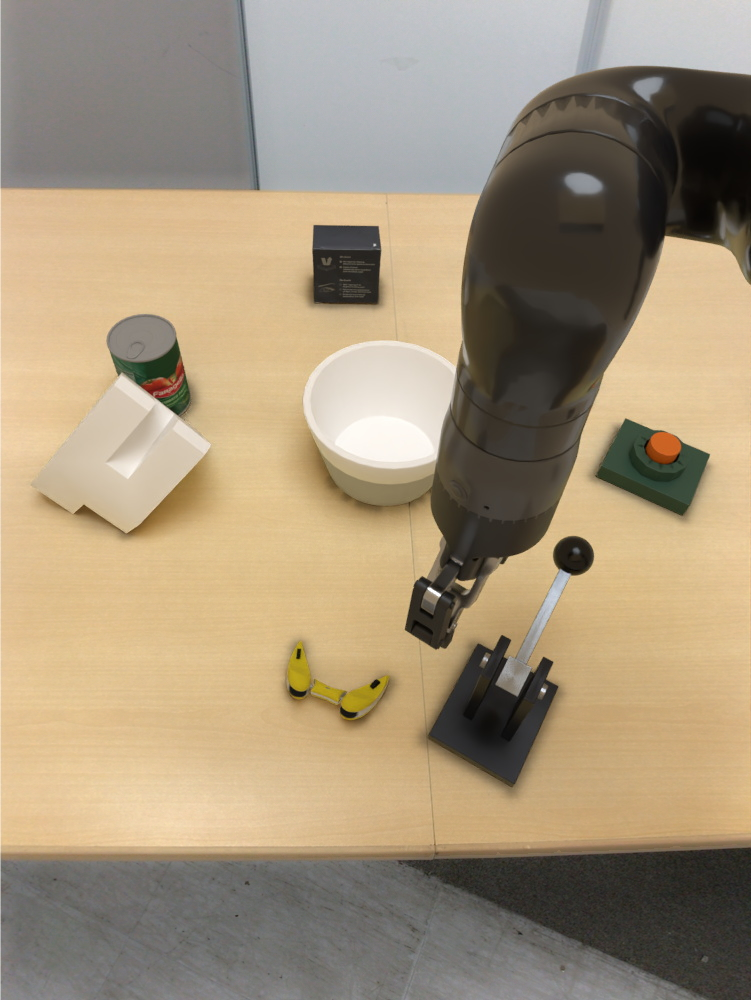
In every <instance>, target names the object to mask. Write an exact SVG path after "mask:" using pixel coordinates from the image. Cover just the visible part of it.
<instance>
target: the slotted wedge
mask: <svg viewBox="0 0 751 1000" xmlns="http://www.w3.org/2000/svg"><path fill="white" fill-rule="evenodd" d="M211 446H212V444H211V443H210V441H208V440H207V438H206V437H205V436H204V435H203V434H202V433H201V432H200V431H198V430H197V429H196V428H194V427H193V426H192V425H191V424H189V423H188V422H187V421H186V420H184V419H183V418H182V417H181V416H180V417H179V416H178V415H176V414H175V413H174V412H172V411H171V410H170V409H169V408H167V407H166V406H165V405H163V404H162V403H161V402H160V401H158V400H157V399H156V398H154V397H153V396H152V395H151V394H149V393H148V392H147V391H145V390H144V389H143V388H142V387H140V386H139V385H138V384H136V383H135V382H134V381H133V380H131V379H130V378H129V377H127V376H126V375H125V374H123V373H121V374H120V375H119V377H118V376H117V378H116V379H114V381H113V382H112V383H111V385H110V386H109V387H108V388H107V389H106V390H105V391H104V393H103V394H102V395H101V396H100V397H99V398H98V399H97V401H96V402H95V403H94V405H92V407H91V408H90V409H89V411H88V412H87V413H86V415H85V416H84V417H83V418H82V420H81V421H80V422H79V423H78V425H77V426H76V427H75V428H74V429H73V430H72V432H71V433H70V434H69V435H68V437H67V438H65V440H64V442H63V443H62V444H61V445H60V447H59V448H58V449H57V450H56V452H55V453H54V454H53V455H52V457H50V459H49V460H48V461H47V463H46V464H45V465H44V466H43V468H42V469H41V470H40V471H39V473H38V474H37V475H36V476H35V477H34V479H33V480H32V481H31V482H30V484H29V486H30V487H32V488H33V489H35V490H36V491H38V492H39V493H41V494H42V495H44V496H45V497H47V498H48V499H50V500H51V501H53V502H54V503H56V504H57V505H59V506H60V507H61V508H63V509H65V510H66V511H68V512H69V513H70V514H72V515H74V514H75V513H76V512H78V510H79V509H80V508H81V507H83V506H86V507H87V508H88V509H89V510H91V511H92V512H94V513H95V514H97V515H98V516H99V517H101V518H103V519H104V520H105V521H107V522H108V523H110V524H111V525H113V526H114V527H116V528H117V529H119V530H121V531H122V532H123V533H125V534H128V533H129V532H131V531H133V530H134V529H136V528H137V527H138V526H140V525H141V524H142V523H143V522H144V521H145V520H146V518H147V517H149V515H150V514H151V513H152V512H153V511H154V510H155V509H156V508H157V507H158V506H159V505H160V503H162V501H163V500H165V498H166V497H167V496H168V495H169V494H170V493H171V492H172V491H173V490H174V489H175V487H176V486H178V484H179V483H180V482H181V481H182V480H183V479H184V478H185V477H186V476H187V475H188V473H190V471H192V469H194V467H196V465H197V464H198V463H199V462H200V461H201V460H202V459H203V458H204V457H205V456H206V454H207V453H208V451H209V450H210V448H211Z"/></svg>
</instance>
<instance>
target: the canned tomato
mask: <svg viewBox="0 0 751 1000" xmlns="http://www.w3.org/2000/svg"><path fill="white" fill-rule="evenodd" d="M105 343H106V346H107V348H108V350H109V351H108V352H109V354H110V358H111V360H112V363H113V364H114V365H113V366H114V368H115V372H116V374H117V378H118V377H119V375H120V374H121V373H123V374H125V375H126V376H127V377H129V378H130V379H131V380H133V381H134V382H135V383H136V384H138V385H139V386H140V387H142V388H143V389H144V390H145V391H147V392H148V393H149V394H151V395H152V396H153V397H154V398H156V399H157V400H158V401H160V402H161V403H162V404H163V405H165V406H166V407H167V408H169V409H170V410H171V411H172V412H174V413H175V414H176V415H178V416H179V417H180V418H181V416H182V415H184V413H186V411H187V410H188V409H189V407H190V405H191V402H192V393H191V391H190V386H189V383H188V378H187V375H186V370H185V365H184V362H183V356H182V353H181V349H180V344H179V340H178V337H177V330H176V328H175V326H174V325H173V323H171V321H170V320H169V319H167V318H165V317H164V316H160V315H158V314H153V313H138V314H133V315H130V316H127V317H124V318H123V319H121V320H119V321H117V322H116V323H115V324H113V326H111V328H110V329H109V330H108V332H107V335H106V341H105Z"/></svg>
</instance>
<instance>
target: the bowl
mask: <svg viewBox="0 0 751 1000" xmlns="http://www.w3.org/2000/svg"><path fill="white" fill-rule="evenodd" d="M456 367H457V366H456V365H454V364H453V363H452V362H450V361H449V360H448V359H446V358H445V357H444V356H442V355H440V354H438V353H437V352H435V351H433V350H431V349H429V348H426V347H423V346H422V345H418V344H415V343H410V342H406V341H400V340H387V339H382V340H369V341H363V342H359V343H354V344H351V345H348V346H346V347H344V348H340V349H339V350H337V351H335V352H334V353H331V354H330V355H328V356H327V357H326V358H324V359H323V361H321V362H320V363H319V364H317V366H316V367H315V369H314V370H313V371H312V372H311V374H310V375H309V376H308V378H307V381H306V384H305V385H304V388H303V393H302V401H301V402H302V403H301V404H302V412H303V416H304V419H305V421H306V424H307V427H308V429H309V431H310V434H311V435H312V438H313V440H314V443H315V445H316V447H317V448H318V451H319V453H320V455H321V458H322V460H323V462H324V464H325V466H326V469H327V471H328V473H329V476H330V478H331V480H332V481H333V483H334V484H335V485H336V487H338V489H340V490H341V491H342V492H343V493H345V494H346V495H348V497H351V498H352V499H353V500H357V501H359V502H361V503H364V504H368V505H372V506H378V507H379V506H380V507H393V506H400V505H403V504H404V505H405V504H408V503H411V502H412V501H415V500H417V499H419V498H421V497H423V496H424V494H426V493H427V492H428V491H429V490H430V489H432V485H433V478H434V472H435V466H436V459H437V454H438V447H439V441H440V434H441V429H442V425H443V421H444V418H445V415H446V412H447V410H448V407H449V404H450V401H451V397H452V391H453V385H454V379H455V373H456Z"/></svg>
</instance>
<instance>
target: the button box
mask: <svg viewBox="0 0 751 1000" xmlns="http://www.w3.org/2000/svg"><path fill="white" fill-rule="evenodd" d="M658 432H666V433H669V432H668V431H666V430H661V429H652V428H650V427H647V426H645V425H643V424H640V423H638V422H636V421H633V420H631V419H629V418H627V417H625V418H624V420H623V422H622V424H621V426H620V427H619V429H618V432H617V434H616V436H615V438H614V440H613V442H612V444H611V446H610V448H609V449H608V451H607V454H606V456H605V457H604V460H603V461H602V463H601V465H600V467H599V469H598V471H597V474H596V475H595V476H596V478H598V479H601V480H603V481H606V482H607V483H610V484H612V485H614V486H616V487H619V488H620V489H623V490H625V491H627V492H628V493H631V494H634V495H635V496H638V497H640V498H642V499H645V500H647V501H649V502H651V503H653V504H656V505H658V506H660V507H662V508H665V509H667V510H669V511H671V512H673V513H675V514H678V515H680V516H684V515H685V513H686V512H687V511H688V509H689V508H690V506H691V505H692V501H693V499H694V496H695V495H696V491H697V489H698V486H699V484H700V481H701V479H702V476H703V473H704V472H705V469H706V466H707V464H708V462H709V459H710V456H711V453H708V452H706V451H704V450H702V449H699V448H697V447H694V446H692V445H690V444H687V443H686V442H683V441H682V439H680V438H679V437H678V436H677V435H675V434H673V433H671V434H672V435H674V436H675V437H676V438H677V439H678V440H679V441H680V443H681V450H680V452H679V454H678V455H677V457H676V459H675V460H674V461H673V462H672V463H669V464H659V463H657V462H654V461H653V460H651V459H650V458H649V457H648V455H647V453H646V446H647V444H648V443H649V441H650V439H651V437H652V436H653V435H654V434H656V433H658Z"/></svg>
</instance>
